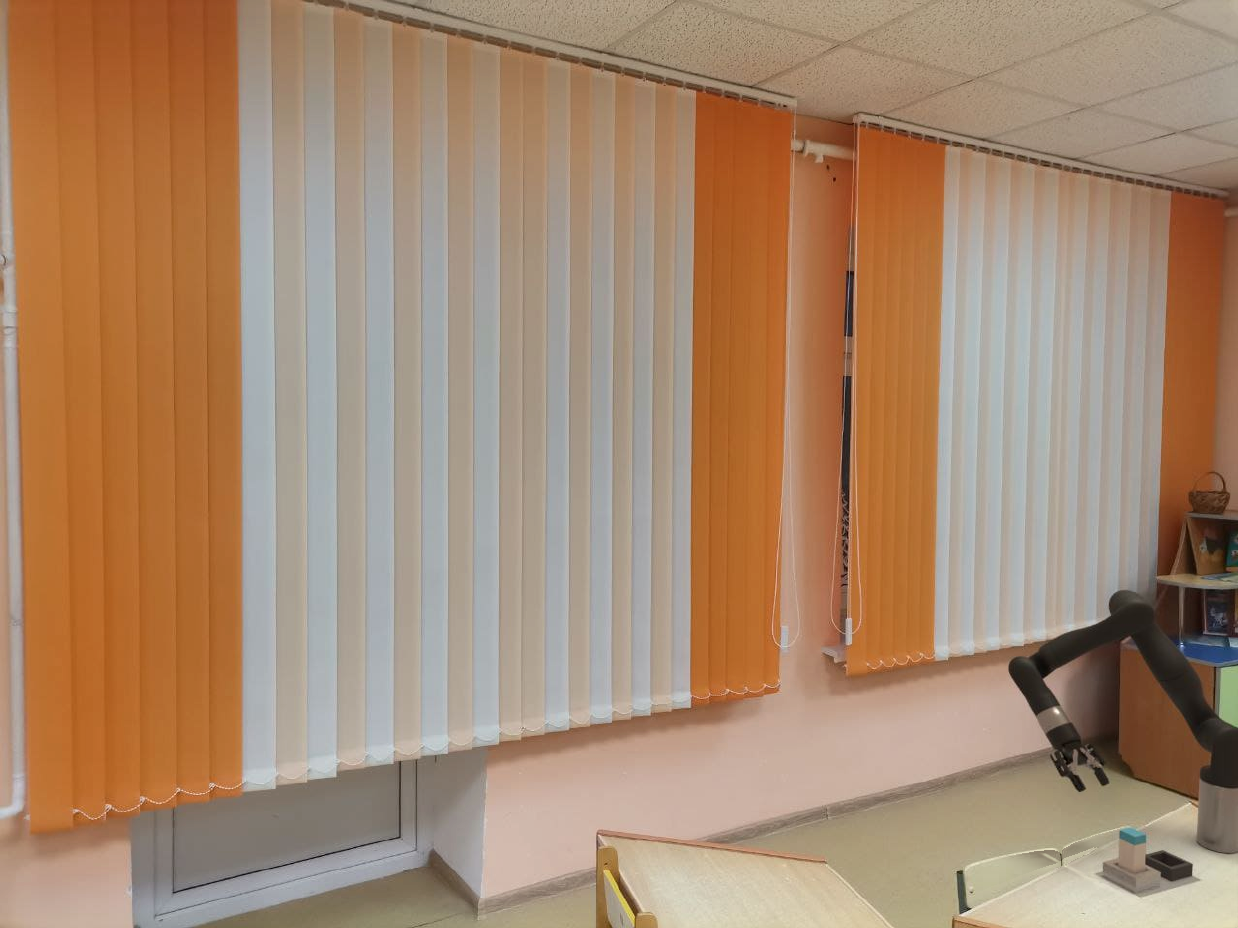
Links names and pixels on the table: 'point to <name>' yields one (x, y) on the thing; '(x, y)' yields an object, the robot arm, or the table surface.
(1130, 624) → the robot arm
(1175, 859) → the dark grey square socket
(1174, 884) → the panel
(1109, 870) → the port
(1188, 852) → the table surface
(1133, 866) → the plug
